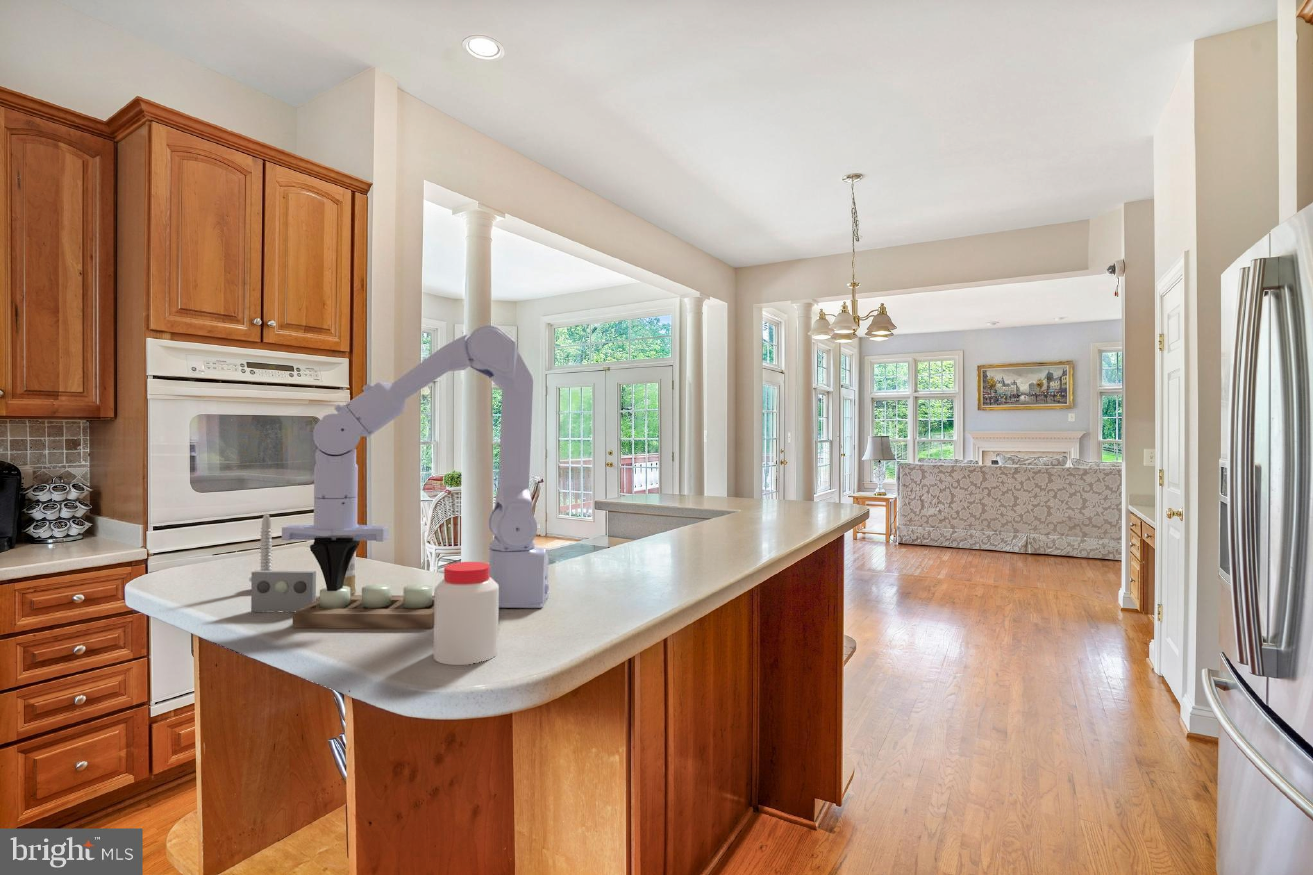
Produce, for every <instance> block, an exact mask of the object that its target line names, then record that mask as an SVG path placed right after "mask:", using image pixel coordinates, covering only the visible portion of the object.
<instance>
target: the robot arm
mask: <svg viewBox="0 0 1313 875" xmlns="http://www.w3.org/2000/svg"><path fill="white" fill-rule="evenodd" d="M469 368H471V369H472V370H474V371H476V372H478V373H480V374H481V375H482V374H483V375H484V376H486V377H488V378H489V379H490V380H491V382H493V383H494V384H495V385H496V386H497V387H498V388H499V390H501V408H500V409H501V411H500V412H501V414H500V436H499V438H500V439H499V459H498V460H499V464H498V482H497V483H498V486H497V491H496V494H495V502H494V507H493V510H492V511H491V513H490V515H489V518H488V527H489V530H490V531H491V532H490V533H492V535H493V536H494V537H493V539H492V541H491V542H490V543H489V545H488V564H489V565H490V577H491V578H492V579H493V580H494V581H495V582H497V583H498V585H499V609H500V608H503V609H504V608H505V609H507V608H510V609H512V608H513V609H515V608H517V609H518V608H519V609H520V608H521V609H522V608H523V609H530V608H531V609H533V608H534V609H538V608H539V609H540V608H543V607H544V605H545V603H546V601H547V598H549V590H550V589H549V584H550V583H549V550H548V548H546V547H537V546H536V542H534V540H535V537H536V536H537V532H538V523H537V520H536V518H535V516H534V514H533V500H532V495H531V492H530V471H531V450H532V449H531V446H532V445H531V444H532V443H531V441H532V424H533V423H532V421H533V420H532V417H533V394H534V393H533V392H534V379H533V375H532V374H531V372H530V369H529V367H528V366H527V364H526V363H525V361H524V359H523V357H522V355H521V353H520V351H519V350H518V347H517V344H516V341H515V340H514V339H513V338H512V337H510V336H509V335H508V334H507V333H506V332H504V331H503V330H502V329H501V328H499V327H498V326H494V325H488V324H487V325H486V324H485V325H482V326H478V327H477V328H475V329H474V330H473V331H472V332H471V333H470V335H469V336H468V334H464V335H463V336H460V337H458V338H456V339H454V340H452V341H451V342H449V343H447V344H445V345H443V346H442V347H441V348H439V349H437V350H436V351H435V352H433V353H432V354H431V355H429V356H428V357H427V358H425V359H424V360H422V361H421V362H420V363H418V364H417V365H415V367H413V368H411V369H410V370H409V371H408V372H406V373H405V374H403V375H402V376H401V377H399V378H397V380H395V381H394V382H392V383H391V382H384V381H377V382H376V383H374V384H373V385H372V384H371V383H369V382H368V383H367V384H365V385H364V386H363V387H362V390H363V392H361V393H360V394H358V395H357V396H355V397H354V398H353V399H351V400H350V401H348V402H347V403H346V404H344V405H342V404H340V403H339V404H338V405H336V406H334V410H335V411H336V412H337V413H329V414H325V415H323V416H322V418H321V419H320V420H319V421H318V422H317V423H316V424H315V425H314V428H313V433H312V438H313V441H314V443H315V446H316V447H317V449H316V450H315V451H316V452H315V453H314V459H315V465H314V468H313V470H314V471H313V473H314V474H313V482H314V483H313V524H301V525H300V524H298V525H297V524H295V525H293V524H291V525H286V526H282V527H281V541H293V540H294V541H298V540H299V541H313V543H312V544H310V546H309V548H310V549H309V550H310V552H311V553H312V555H313V557H314V558H315V560H316V562H317V563H318V565H319V567H320V570H321V573H322V575H323V578H324V582H325V586H326V587H327V591H338V590H339V589H341V588H343V583H344V579H345V575H346V572H347V569H348V566H349V563H350V561H351V559H352V557H353V555H354V553H355V551H356V552H357V550H358V547H359V546H360V542H361V541H367V542H369V541H375V542H385V541H388V540H389V526H381V525H380V526H379V525H366V524H364V525H363V524H358V501H359V499H358V493H359V492H358V490H359V488H358V487H359V484H358V483H359V481H358V480H359V479H358V478H359V466H358V464H357V449H356V447H357V446H358V444H359V442H360V440H361V437H367V438H369V437H370V436H372V435H374V434H375V433H377V432H378V431H379V430H381V429H382V428H383V427H385V426H387V425H388V424H389V423H391V422H392V421H394V420H395V419H396V418H397V417H399V416H401V415H403V414H404V412H405V404H406V400H407V399H409V398H410V397H412V396H413V395H414V394H415V395H416V393H418V392H419V391H421V390H422V389H424V388H426V387H427V386H429V385H430V384H432V383H433V382H435V381H436V380H437V379H439V378H440V377H442V376H444V375H445V374H446V373H449V372H456V371H465V370H467V369H469ZM334 535H347V536H334ZM326 587H325V588H326Z"/></svg>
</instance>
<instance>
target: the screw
mask: <svg viewBox="0 0 1313 875" xmlns="http://www.w3.org/2000/svg"><path fill="white" fill-rule="evenodd" d="M261 522H262V523H261V527H260V529H261V530H260V535H259V537H260V541H259V544H260V546H259V547H260V549H259V551H260V552H259V554H260V555H259V557H260V559H259V560H260V562H259V564H260V566H259V568H260V569H259V571H273V570H272V569H273V566H272V565H273V563H272V561H273V560H272V558H273V556H272V555H273V553H272V551H273V549H272V548H273V546H272V545H273V542H272V541H273V538H272V537H273V535H272V534H273V532H272V530H273V529H272V527H271V526H272V524H271V523H272V522H271V516H270V514H268V513H265V514H264V515H263V516H262V521H261ZM251 580H252V575H251V576H250V577H249V578H248V581H249V582H250V583H251Z"/></svg>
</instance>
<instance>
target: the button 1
mask: <svg viewBox="0 0 1313 875" xmlns="http://www.w3.org/2000/svg"><path fill="white" fill-rule="evenodd" d="M319 599H320V609H343V608H346V607H348V606H350V587H348V586H343V588H341V589H339V590H338V591H327V587H323V588H321V589H320V590H319Z"/></svg>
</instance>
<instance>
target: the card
mask: <svg viewBox="0 0 1313 875" xmlns="http://www.w3.org/2000/svg"><path fill="white" fill-rule="evenodd" d="M251 576H252V580H251V582H250V583H251V589H250V590H251V591H250V592H251V595H250V598H251V599H250V600H251V601H250V602H251V603H250V605H251V606H250V608H251V613H268V612H267V611H298V610H300V609H302V608H304V607H306V606H307V605H309V604H311V603H313V602H315V601H317V600H316V599H317V589H316V588H317V571H316V570H272V571H260V570H253V571H251ZM263 611H264V612H263Z"/></svg>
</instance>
